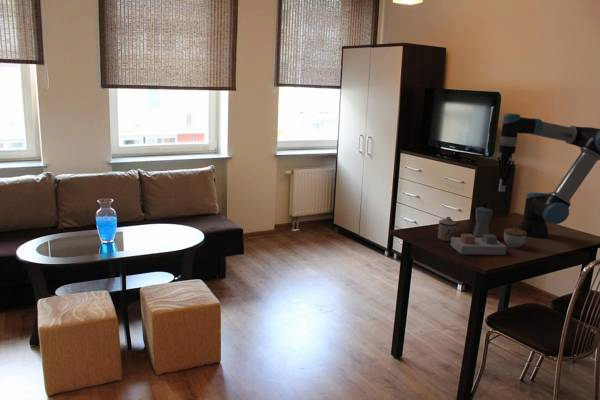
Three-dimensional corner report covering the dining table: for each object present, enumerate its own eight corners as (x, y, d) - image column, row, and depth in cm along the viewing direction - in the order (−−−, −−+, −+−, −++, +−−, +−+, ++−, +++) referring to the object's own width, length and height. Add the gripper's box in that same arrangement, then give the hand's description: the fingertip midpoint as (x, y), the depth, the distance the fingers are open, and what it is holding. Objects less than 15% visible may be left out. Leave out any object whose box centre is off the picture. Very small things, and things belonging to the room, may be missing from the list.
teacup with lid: (445, 242, 267) (448, 220, 265) (433, 237, 275) (435, 215, 272) (463, 239, 273) (465, 218, 270) (450, 234, 281) (452, 213, 278)
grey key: (491, 242, 260) (492, 234, 259) (496, 246, 255) (497, 237, 254) (481, 242, 259) (482, 234, 258) (486, 245, 254) (487, 237, 253)
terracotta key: (470, 242, 259) (471, 233, 258) (474, 245, 254) (475, 236, 253) (460, 242, 258) (461, 233, 257) (464, 245, 253) (465, 236, 252)
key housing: (492, 245, 265) (493, 237, 264) (505, 254, 251) (506, 246, 251) (450, 244, 263) (451, 237, 262) (461, 254, 249) (462, 246, 248)
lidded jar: (522, 250, 259) (525, 232, 257) (500, 246, 264) (502, 228, 262) (526, 245, 268) (529, 227, 266) (504, 241, 273) (507, 223, 271)
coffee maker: (495, 238, 277) (500, 205, 273) (482, 239, 274) (486, 206, 270) (477, 230, 291) (481, 199, 287) (464, 231, 288) (467, 199, 284)
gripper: (494, 143, 268) (489, 188, 273) (506, 146, 255) (500, 193, 261) (508, 143, 269) (502, 188, 274) (521, 147, 256) (514, 194, 261)
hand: (501, 191), depth 267 cm, fingers closed
